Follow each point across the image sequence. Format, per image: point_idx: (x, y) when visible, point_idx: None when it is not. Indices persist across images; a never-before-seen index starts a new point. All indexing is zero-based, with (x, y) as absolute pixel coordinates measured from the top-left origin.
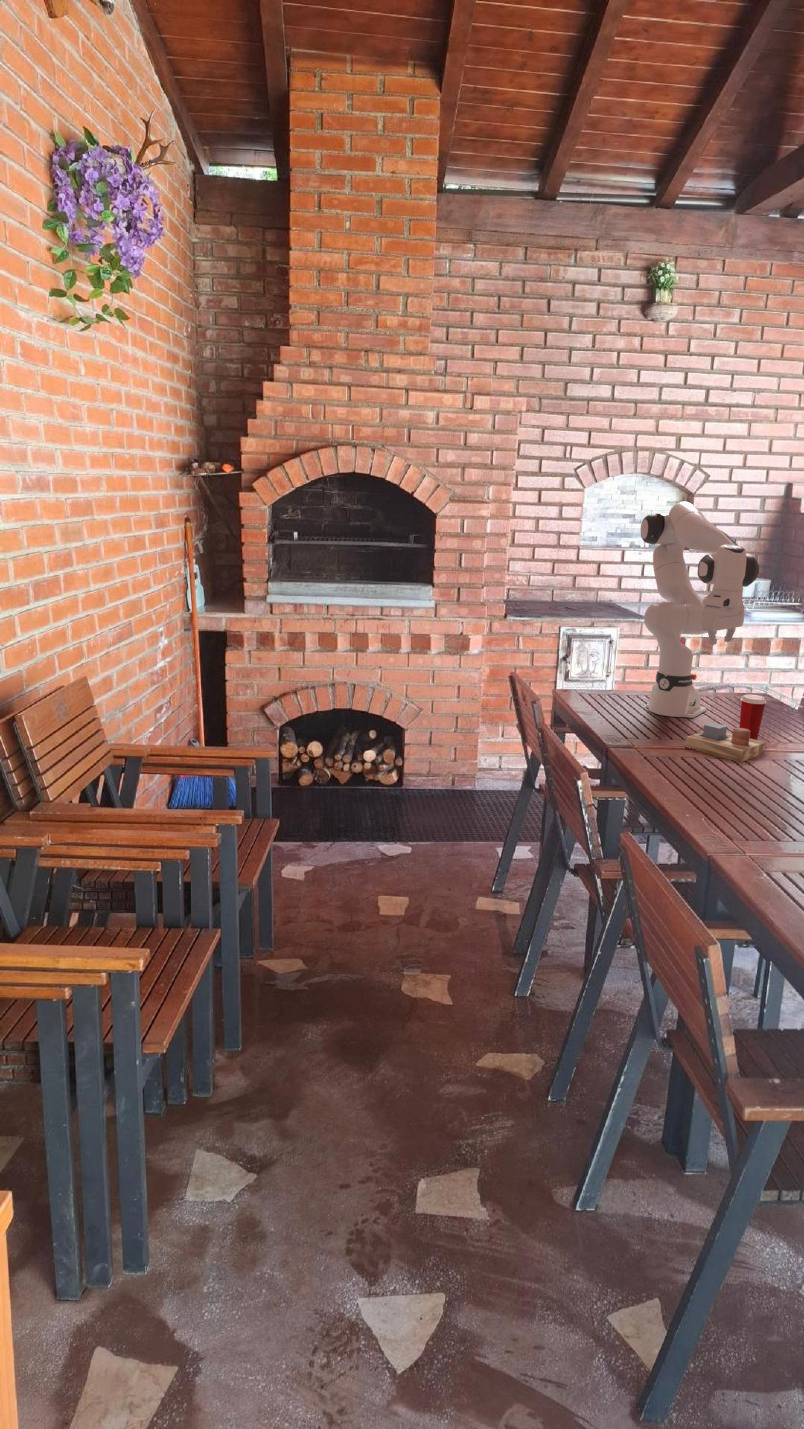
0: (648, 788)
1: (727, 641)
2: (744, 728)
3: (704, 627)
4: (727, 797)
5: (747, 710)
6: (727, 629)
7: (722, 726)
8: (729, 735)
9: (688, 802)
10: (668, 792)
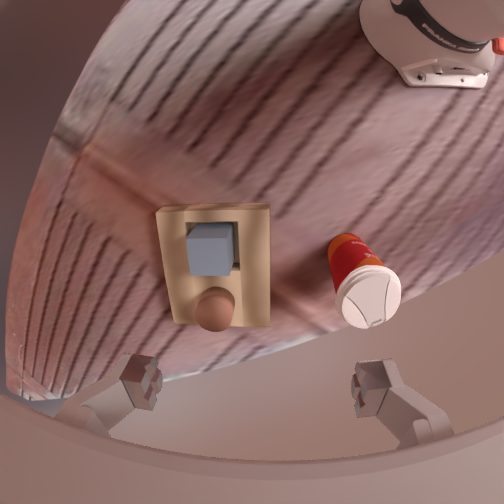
0: (10, 281)
1: (354, 378)
2: (330, 261)
3: None
4: (63, 346)
5: (335, 286)
6: (411, 428)
7: (214, 271)
8: (252, 263)
9: (25, 324)
10: (21, 300)
